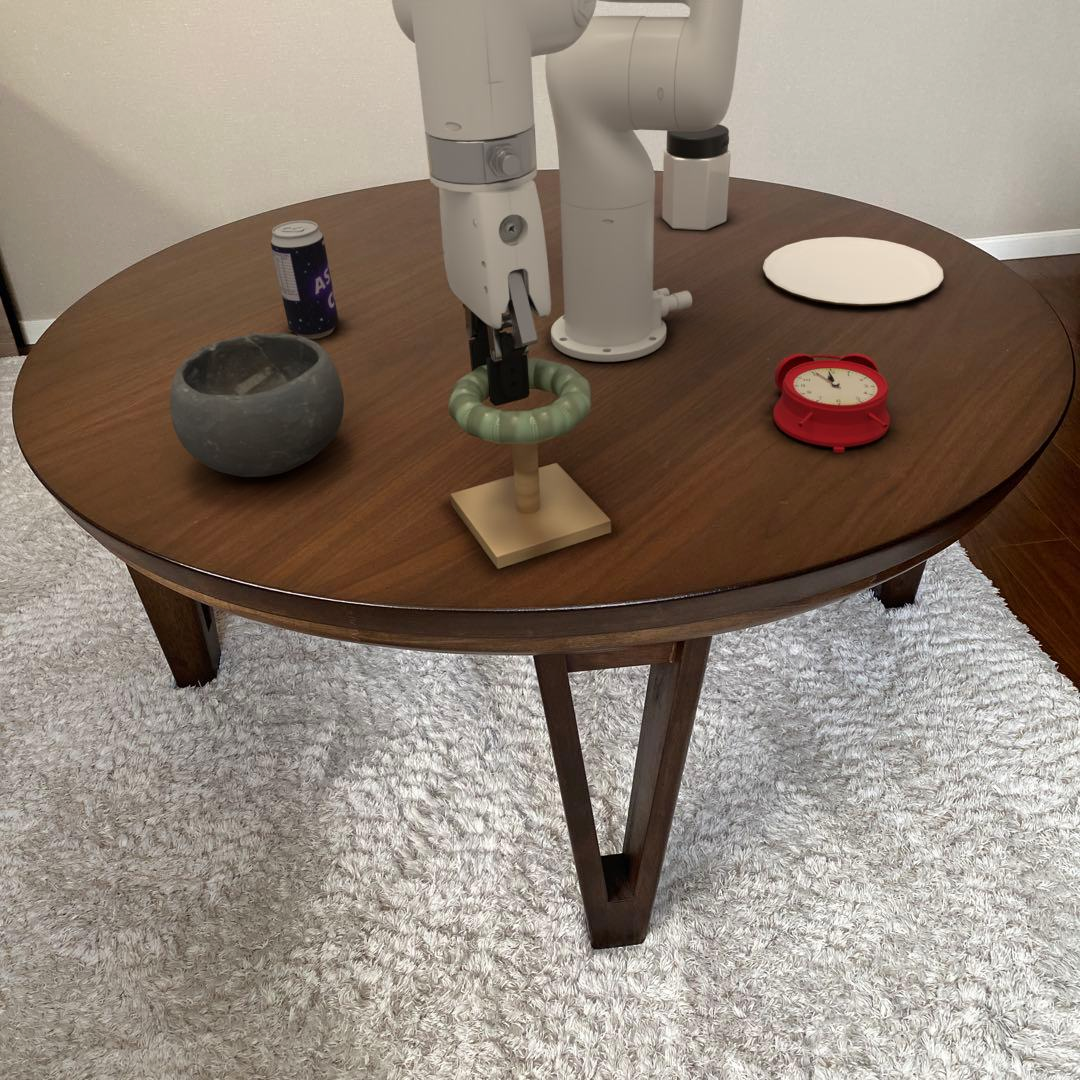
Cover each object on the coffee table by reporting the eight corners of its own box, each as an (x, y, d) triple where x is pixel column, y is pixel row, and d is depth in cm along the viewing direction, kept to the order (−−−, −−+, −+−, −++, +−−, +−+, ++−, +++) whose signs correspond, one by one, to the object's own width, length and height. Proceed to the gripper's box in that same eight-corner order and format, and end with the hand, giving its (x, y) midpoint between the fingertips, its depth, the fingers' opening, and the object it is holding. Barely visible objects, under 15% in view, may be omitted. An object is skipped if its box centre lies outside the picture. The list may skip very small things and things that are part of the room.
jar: (734, 227, 136) (740, 135, 129) (676, 234, 134) (680, 142, 127) (710, 207, 143) (715, 118, 136) (655, 214, 142) (657, 125, 134)
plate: (981, 290, 115) (983, 280, 114) (827, 326, 109) (829, 315, 109) (869, 235, 131) (870, 225, 130) (730, 263, 125) (730, 254, 125)
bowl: (159, 464, 93) (127, 367, 87) (295, 405, 101) (275, 312, 95) (243, 527, 84) (214, 423, 78) (385, 456, 92) (368, 357, 86)
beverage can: (329, 342, 112) (309, 237, 105) (282, 340, 113) (259, 236, 106) (347, 321, 117) (329, 219, 110) (301, 319, 118) (280, 218, 111)
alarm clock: (783, 420, 86) (772, 314, 96) (775, 471, 91) (765, 365, 101) (907, 421, 85) (884, 313, 95) (893, 473, 90) (871, 365, 100)
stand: (557, 473, 88) (552, 380, 83) (611, 532, 81) (610, 433, 75) (451, 505, 85) (439, 410, 79) (497, 569, 78) (488, 469, 72)
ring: (551, 368, 83) (550, 342, 81) (617, 425, 75) (617, 396, 74) (430, 401, 79) (427, 374, 78) (486, 464, 71) (483, 435, 70)
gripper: (584, 174, 64) (589, 423, 75) (486, 121, 76) (503, 342, 87) (476, 196, 62) (498, 449, 73) (393, 136, 74) (422, 362, 85)
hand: (500, 389), depth 80 cm, fingers closed on ring, 2 cm apart
